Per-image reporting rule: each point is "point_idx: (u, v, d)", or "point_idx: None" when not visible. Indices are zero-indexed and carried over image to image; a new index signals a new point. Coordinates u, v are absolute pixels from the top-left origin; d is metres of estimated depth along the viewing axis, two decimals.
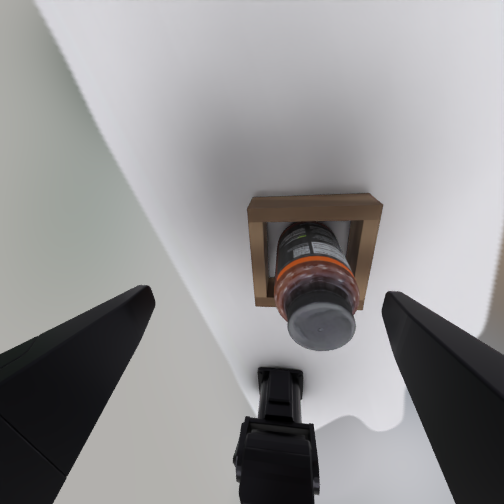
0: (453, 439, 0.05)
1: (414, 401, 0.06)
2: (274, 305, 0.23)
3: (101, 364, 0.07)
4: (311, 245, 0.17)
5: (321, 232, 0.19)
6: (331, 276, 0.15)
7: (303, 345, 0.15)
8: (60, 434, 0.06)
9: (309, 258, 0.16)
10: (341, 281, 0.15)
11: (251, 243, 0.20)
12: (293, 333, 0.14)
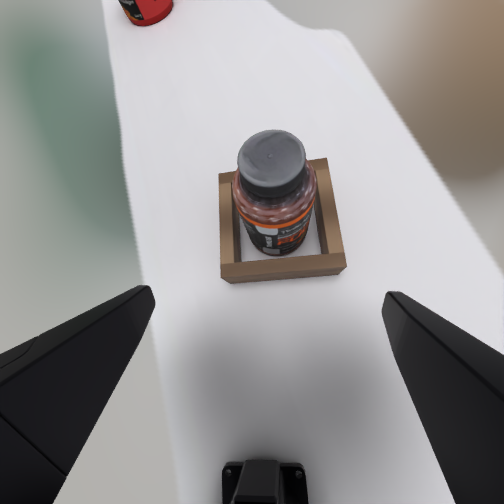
0: (453, 439, 0.05)
1: (414, 401, 0.06)
2: (243, 273, 0.20)
3: (101, 364, 0.07)
4: None
5: None
6: None
7: (255, 179, 0.13)
8: (60, 434, 0.06)
9: None
10: None
11: (220, 202, 0.22)
12: (243, 165, 0.13)
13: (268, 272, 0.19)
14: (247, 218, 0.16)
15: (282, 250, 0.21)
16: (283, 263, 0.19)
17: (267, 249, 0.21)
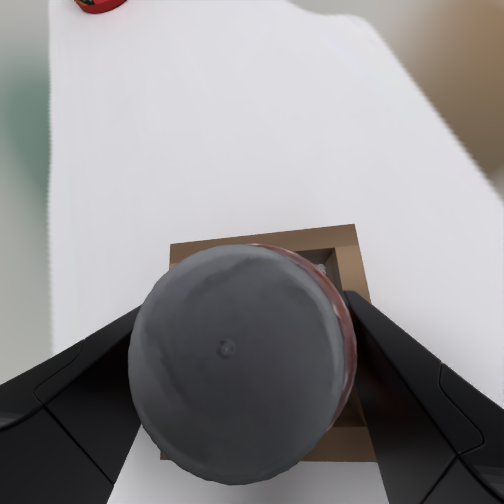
0: (383, 431, 0.05)
1: (359, 396, 0.07)
2: None
3: None
4: None
5: None
6: None
7: (170, 447, 0.04)
8: (109, 441, 0.06)
9: None
10: None
11: None
12: (139, 377, 0.04)
13: None
14: None
15: None
16: None
17: None
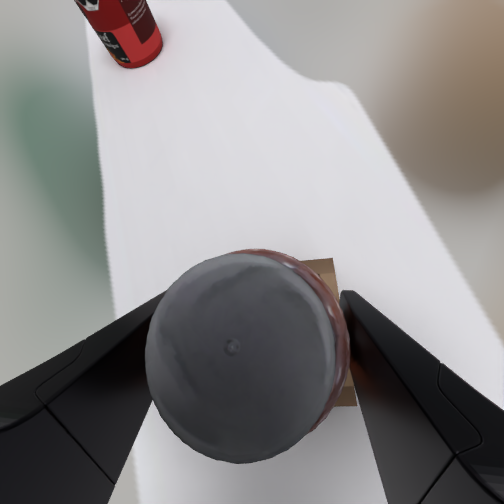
0: (382, 431, 0.05)
1: (358, 396, 0.07)
2: None
3: (145, 368, 0.07)
4: None
5: None
6: (269, 257, 0.07)
7: (185, 432, 0.04)
8: (110, 441, 0.06)
9: None
10: (290, 266, 0.07)
11: None
12: (155, 372, 0.05)
13: None
14: None
15: None
16: None
17: None
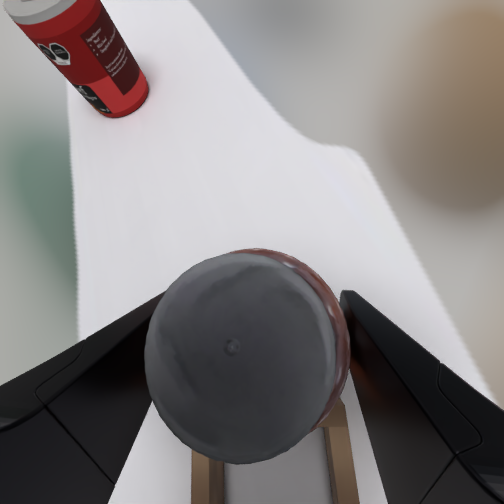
0: (382, 431, 0.05)
1: (358, 396, 0.07)
2: None
3: None
4: None
5: None
6: (269, 257, 0.07)
7: (184, 432, 0.04)
8: (110, 441, 0.06)
9: None
10: (290, 266, 0.07)
11: (193, 462, 0.15)
12: (155, 372, 0.05)
13: None
14: None
15: None
16: None
17: None
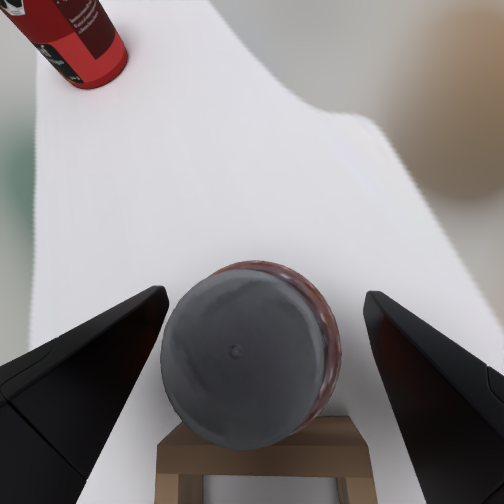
0: (422, 435, 0.05)
1: (390, 399, 0.07)
2: None
3: (119, 366, 0.07)
4: None
5: None
6: (267, 269, 0.08)
7: (196, 424, 0.05)
8: (81, 437, 0.06)
9: None
10: (287, 277, 0.08)
11: None
12: (170, 374, 0.05)
13: None
14: None
15: None
16: None
17: None
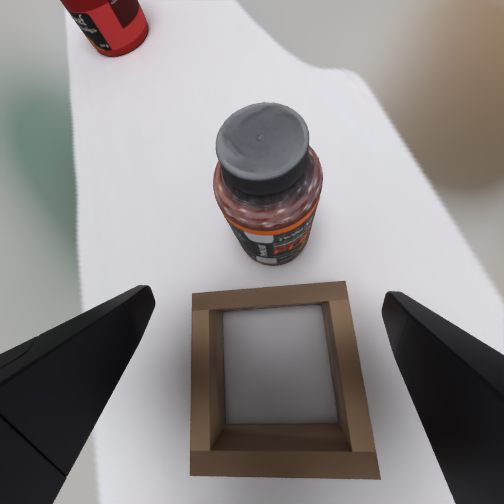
0: (453, 439, 0.05)
1: (414, 401, 0.06)
2: (222, 472, 0.13)
3: (101, 364, 0.07)
4: None
5: None
6: None
7: (239, 170, 0.09)
8: (60, 434, 0.06)
9: None
10: None
11: (193, 341, 0.15)
12: (222, 151, 0.10)
13: (260, 475, 0.13)
14: (233, 223, 0.12)
15: (279, 260, 0.17)
16: (283, 461, 0.13)
17: (261, 258, 0.17)
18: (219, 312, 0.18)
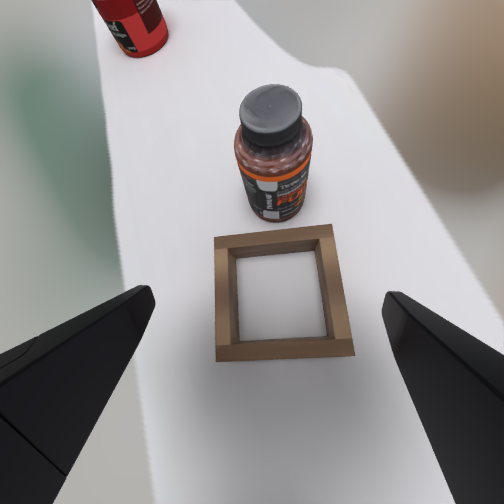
0: (453, 439, 0.05)
1: (414, 401, 0.06)
2: (240, 358, 0.18)
3: (101, 364, 0.07)
4: None
5: None
6: None
7: (256, 127, 0.14)
8: (60, 434, 0.06)
9: None
10: None
11: (216, 271, 0.20)
12: (244, 115, 0.14)
13: (268, 358, 0.17)
14: (248, 172, 0.17)
15: (281, 214, 0.22)
16: (284, 348, 0.17)
17: (267, 213, 0.22)
18: (233, 257, 0.23)
